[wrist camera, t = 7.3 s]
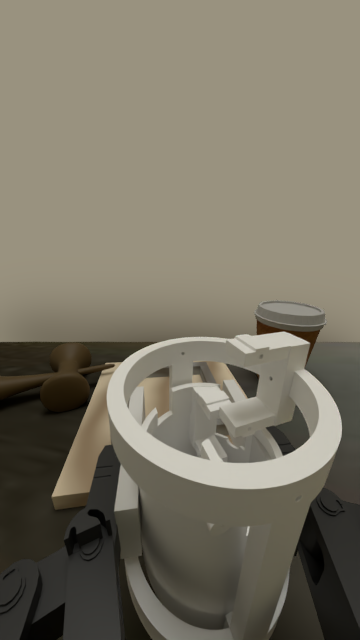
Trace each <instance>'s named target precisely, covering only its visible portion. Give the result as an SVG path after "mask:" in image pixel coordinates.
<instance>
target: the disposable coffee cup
mask: <svg viewBox="0 0 360 640" xmlns="http://www.w3.org/2000/svg"><path fill="white" fill-rule="evenodd" d="M254 313H255V315H256V319H257V335H263V334H270V333H277V332H287V333H290V334H292V335H294V336H296V337H299V338H301V339H303V340H305V341H307V342H309V343H310V347H309V351H308V355H307V359H306V363H305V366H306V364H307V361H308V359H309V356H310V354H311V351H312V349H313V347H314V344H315V342H316V339H317V337H318V334H319V332H320V329H322V328H323V326H324V325H325V324H326V323H327V320H326V319H325V312H324V310H322V309H321V308H319V307H316V306H313V305H309V304H304V303H298V302H291V301H278V300H277V301H264V302H261V303H259V305H258V308H257V309H256V310H255V312H254ZM256 374H257V373H256ZM259 376H260V375H259V374H257V377H258V378H259Z"/></svg>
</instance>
